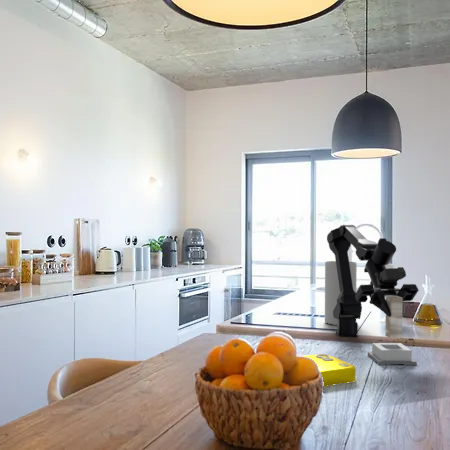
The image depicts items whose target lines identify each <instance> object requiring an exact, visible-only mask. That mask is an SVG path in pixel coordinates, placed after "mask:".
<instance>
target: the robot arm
mask: <svg viewBox="0 0 450 450" xmlns="http://www.w3.org/2000/svg"><path fill="white" fill-rule="evenodd" d="M326 235H327V236H326V241H327V244H328V246H329V249H330V251H331V252H332V253H333V254H334V258H335V261H336V266H337V274H338V281H339V288H340V294H339V296H338V298H337V304H336V306H335V308H334V310H333V317H334V318H336V319H337V326H336V331H335V333H336V334H337V336H338V337H342V338H343V337H351V338H352V337H355V338H357V337H358V331H359V330H358V326H359V325H358V322H357V320H360V319H361V317H362V311H363V306H362V305H363V304H362V303H366V302H368V296H369V298H370V300H369V304H370V305H373V306H374V307H375V308H378V310H380V311H381V312H383V313H384V314H385V316H386V315H388V316H389V317H390V316H391V312H390V309H389V307H388V304H387V302H386V298H385V296H399V297H402V298H403V302H411V301H413V300H414V299H415V296H417V294H418V292H419V290H420V289H419V288H418V285H417V284H416V283H403V284H402V286H401V287H399V288H397V285H398V281H401V280H402V279H404V278H405V277H406V276H407V273H406V270H405V268H404V267H403V266H398V267H394V268H388V269H386V267H385V265H387V264H390V262H391V261H392V258H393V257H394V255H395V253H396V252H397V247H396V245H395V244H393V242H392V241H389V240H387V239H386V238H385V237H384V238H383V237H381V238H379V239H378V241H377V242H376V241H373V240H370V239H367V238H366V237H365V235H363V234H362V233H361V232H360V230H358V229H357V227H356V226H355V224H342V225H340V226H339V227H337V228H335V229H331V230H330V231H329V232H328V234H326ZM351 246H353V248H355V255H356V256H357V258H358V259H359V261H362V262H363V261H365V262H366V263H365V266H364V269H363V272H364V273H368V275H369V279H370V282H369V284H360V285H359V286H358V288H357V289H356V292H355V291H354V290H353V284H352V278H351V271H350V264H349V262H350V259H349V251H350V248H351ZM395 286H396V288H395ZM403 316H404V309H403V310H402V317H403Z"/></svg>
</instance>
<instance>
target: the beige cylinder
mask: <svg viewBox="0 0 450 450" xmlns="http://www.w3.org/2000/svg"><path fill="white" fill-rule="evenodd" d="M385 300H386V302H387V304H388V307H389V309H390V312H391V316H390V317H389V316H388V315H386V314H385V317H386V323H385V334H384V335H385V337H388V338H390V339H403V316H402V310H403V311H404V301H403V298H402V297H399V296H386V298H385Z"/></svg>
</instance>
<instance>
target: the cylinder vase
mask: <svg viewBox="0 0 450 450" xmlns="http://www.w3.org/2000/svg"><path fill="white" fill-rule="evenodd" d="M324 263H325V264H324V269H325V270H324V322H325V323H326V324H327V323H328V325H330V324H333V325H332V326H336V325H337V319H336V318H334V317H333V310H334V308H335V306H336V304H337V298H338V296H339V294H340V288H339V281H338V274H337V266H336V260H329V261H328V260H327V261H324ZM349 264H350V271H351V278H352V284H353V290H354V291H355V292H357V267H358V266H357V265H358V264H357V262H356V261H349Z"/></svg>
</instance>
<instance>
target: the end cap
mask: <svg viewBox="0 0 450 450" xmlns="http://www.w3.org/2000/svg"><path fill="white" fill-rule="evenodd" d="M371 347H372V348H371V351H367V356H368V357H369V356H370V357H371V358H372V360H373V361H374V360H375V361H376V362H377V363H378V364H404V365H403V366H417V364H418V363H417V362H418V361H416V360H415V359H414V358H413V357H412V356H413V355H412V350H411V349H410V348H409V347H407V346H406V345H404V344H403V343H400V342H398V343H397V342H372V345H371ZM370 357H369V358H370ZM371 358H370V359H371ZM375 361H374V362H375ZM376 362H375V363H376ZM377 363H376V364H377ZM378 364H377V365H378Z"/></svg>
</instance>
